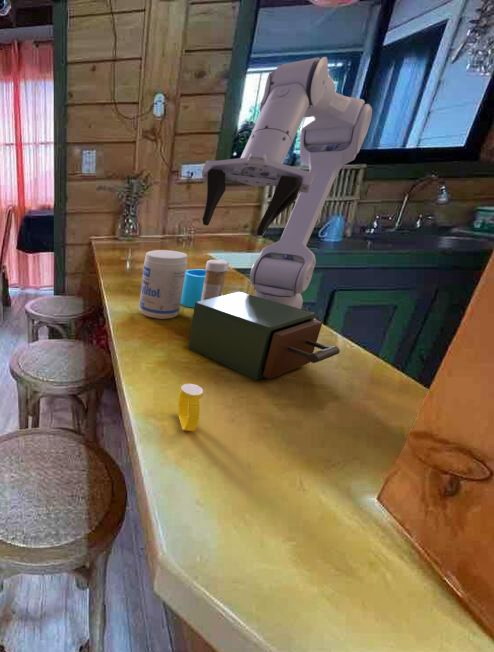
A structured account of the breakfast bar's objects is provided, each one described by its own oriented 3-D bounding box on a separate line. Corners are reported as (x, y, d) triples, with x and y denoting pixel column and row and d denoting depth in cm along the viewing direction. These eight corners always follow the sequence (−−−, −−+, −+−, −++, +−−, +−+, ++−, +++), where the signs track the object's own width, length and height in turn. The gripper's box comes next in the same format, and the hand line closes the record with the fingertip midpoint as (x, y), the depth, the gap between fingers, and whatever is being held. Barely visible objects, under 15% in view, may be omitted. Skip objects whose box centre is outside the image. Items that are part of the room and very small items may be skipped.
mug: (214, 309, 94) (220, 277, 91) (180, 307, 96) (184, 276, 93) (209, 295, 105) (214, 266, 101) (178, 293, 107) (182, 265, 103)
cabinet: (300, 362, 68) (315, 313, 64) (256, 380, 63) (269, 327, 59) (230, 335, 80) (239, 291, 76) (187, 347, 75) (195, 302, 71)
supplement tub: (131, 313, 93) (136, 253, 87) (151, 304, 99) (158, 248, 93) (166, 323, 87) (174, 259, 80) (186, 313, 92) (195, 253, 86)
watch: (171, 411, 55) (176, 376, 53) (191, 412, 55) (197, 377, 52) (179, 437, 50) (185, 399, 47) (200, 439, 49) (208, 401, 47)
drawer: (339, 374, 62) (355, 331, 59) (298, 392, 57) (313, 346, 54) (241, 336, 77) (249, 300, 74) (202, 348, 72) (208, 310, 69)
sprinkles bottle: (222, 317, 89) (233, 261, 83) (210, 322, 87) (221, 264, 81) (205, 312, 92) (214, 258, 87) (193, 316, 90) (202, 260, 85)
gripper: (217, 119, 55) (179, 204, 55) (334, 126, 48) (290, 224, 48) (219, 150, 61) (185, 226, 61) (323, 160, 54) (284, 247, 54)
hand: (231, 227), depth 55 cm, fingers open, 7 cm apart
